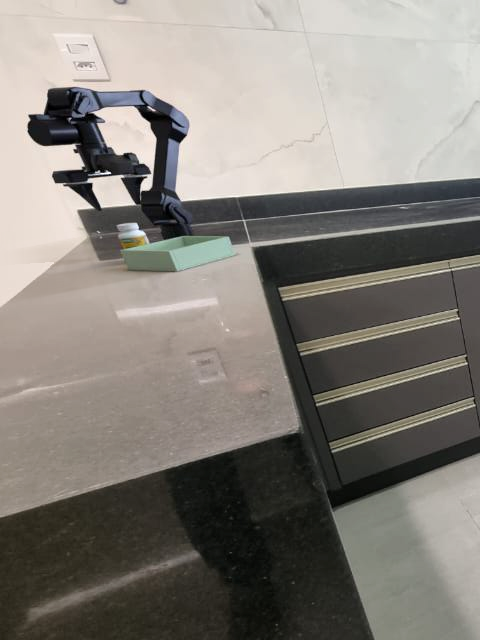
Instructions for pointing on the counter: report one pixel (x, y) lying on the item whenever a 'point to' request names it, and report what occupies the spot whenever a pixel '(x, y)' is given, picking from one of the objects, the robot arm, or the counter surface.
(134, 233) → the supplement bottle
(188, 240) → the bin
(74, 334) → the counter surface
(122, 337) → the counter surface
